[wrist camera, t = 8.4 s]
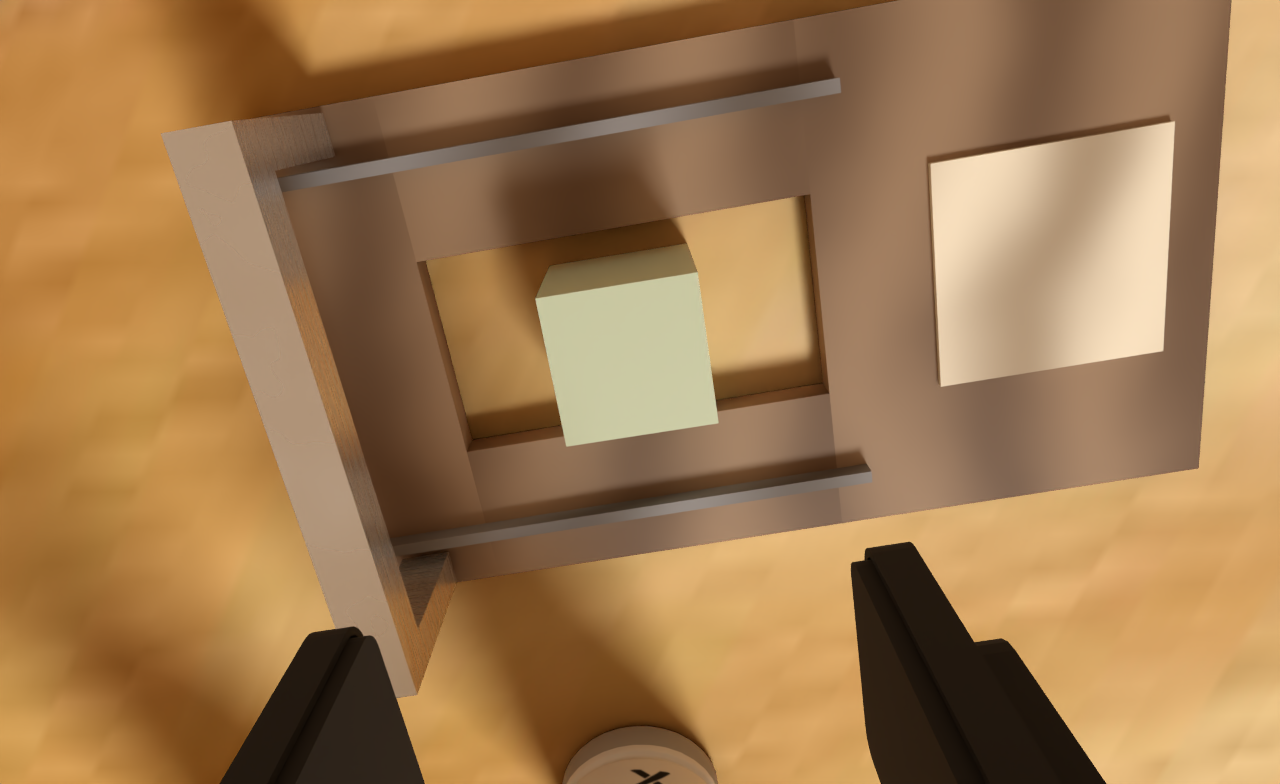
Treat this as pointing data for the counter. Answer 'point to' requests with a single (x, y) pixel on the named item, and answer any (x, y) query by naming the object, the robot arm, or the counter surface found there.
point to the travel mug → (640, 759)
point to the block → (627, 345)
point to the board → (840, 261)
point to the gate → (304, 383)
